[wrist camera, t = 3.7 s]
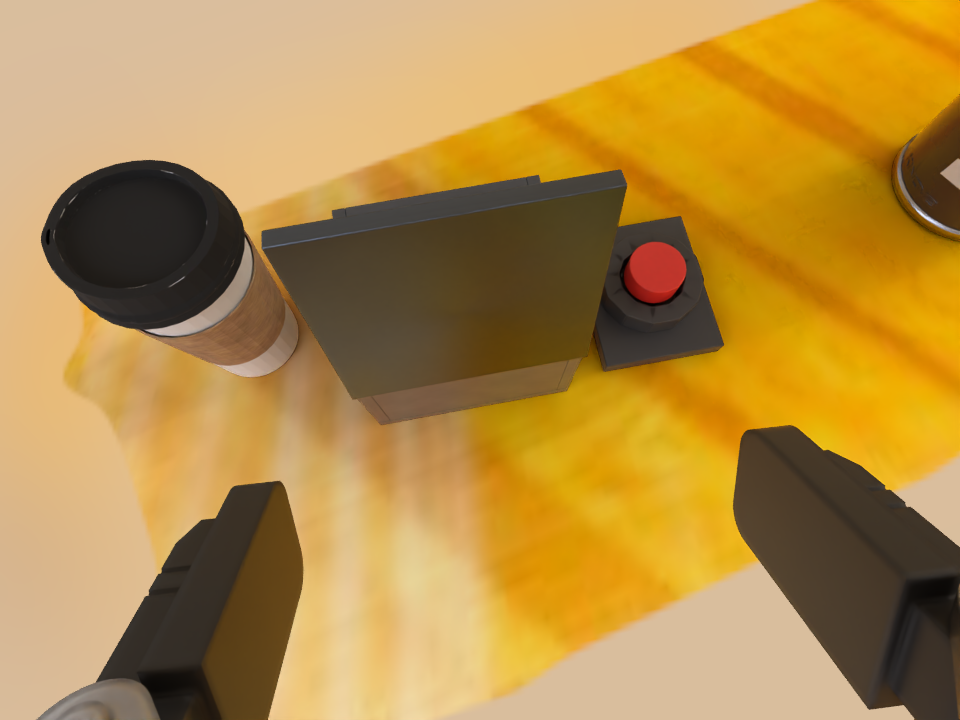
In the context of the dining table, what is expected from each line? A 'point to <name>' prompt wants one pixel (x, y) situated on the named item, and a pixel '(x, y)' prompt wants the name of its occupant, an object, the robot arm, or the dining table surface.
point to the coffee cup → (170, 265)
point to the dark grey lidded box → (470, 389)
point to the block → (653, 306)
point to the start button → (654, 272)
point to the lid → (454, 282)
